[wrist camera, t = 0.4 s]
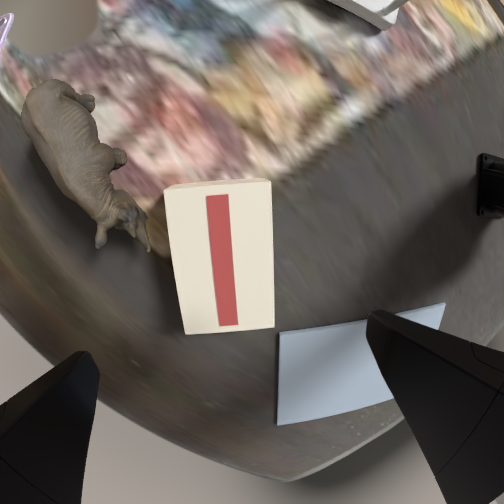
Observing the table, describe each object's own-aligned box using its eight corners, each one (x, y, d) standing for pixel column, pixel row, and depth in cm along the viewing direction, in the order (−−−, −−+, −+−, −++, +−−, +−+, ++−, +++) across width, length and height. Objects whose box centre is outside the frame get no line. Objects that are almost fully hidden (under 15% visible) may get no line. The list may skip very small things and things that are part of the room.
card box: (262, 177, 19) (271, 181, 15) (266, 302, 22) (274, 327, 18) (173, 184, 18) (163, 190, 15) (189, 308, 21) (185, 335, 18)
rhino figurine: (135, 255, 19) (106, 292, 14) (45, 112, 15) (-3, 105, 9) (179, 223, 19) (163, 252, 13) (83, 75, 14) (41, 54, 9)
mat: (443, 302, 24) (445, 303, 24) (412, 388, 28) (414, 390, 28) (279, 332, 22) (280, 335, 22) (276, 422, 27) (277, 425, 26)
